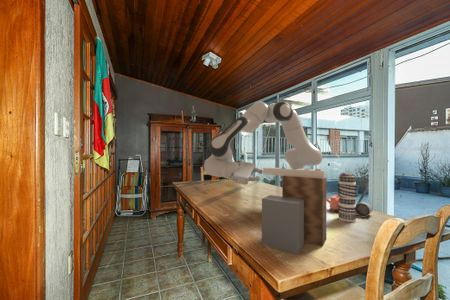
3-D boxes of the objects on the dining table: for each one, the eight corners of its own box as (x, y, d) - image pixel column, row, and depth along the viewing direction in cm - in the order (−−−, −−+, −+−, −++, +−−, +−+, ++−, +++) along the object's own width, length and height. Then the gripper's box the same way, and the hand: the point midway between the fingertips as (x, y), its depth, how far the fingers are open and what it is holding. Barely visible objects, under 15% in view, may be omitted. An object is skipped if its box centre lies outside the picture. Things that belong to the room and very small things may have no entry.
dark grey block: (261, 244, 81) (261, 198, 81) (270, 237, 88) (270, 195, 88) (297, 254, 73) (297, 203, 73) (303, 246, 80) (303, 199, 80)
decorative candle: (336, 220, 110) (336, 173, 110) (338, 215, 118) (338, 171, 118) (356, 223, 105) (356, 174, 105) (357, 218, 113) (357, 172, 113)
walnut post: (282, 236, 89) (282, 176, 89) (288, 230, 95) (288, 174, 95) (322, 246, 79) (322, 179, 80) (326, 239, 86) (326, 177, 86)
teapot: (323, 208, 133) (323, 193, 133) (341, 207, 134) (341, 193, 134) (333, 213, 122) (333, 197, 122) (353, 213, 122) (353, 196, 122)
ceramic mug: (372, 215, 119) (372, 201, 119) (370, 218, 113) (369, 204, 113) (351, 211, 126) (351, 199, 126) (348, 214, 120) (347, 201, 120)
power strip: (263, 174, 96) (263, 166, 96) (266, 173, 100) (266, 166, 100) (323, 178, 81) (323, 169, 81) (325, 177, 84) (325, 169, 84)
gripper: (228, 172, 94) (258, 177, 90) (239, 159, 113) (264, 162, 109) (227, 184, 96) (256, 190, 92) (238, 169, 115) (263, 173, 111)
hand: (261, 175), depth 101 cm, fingers open, 8 cm apart
